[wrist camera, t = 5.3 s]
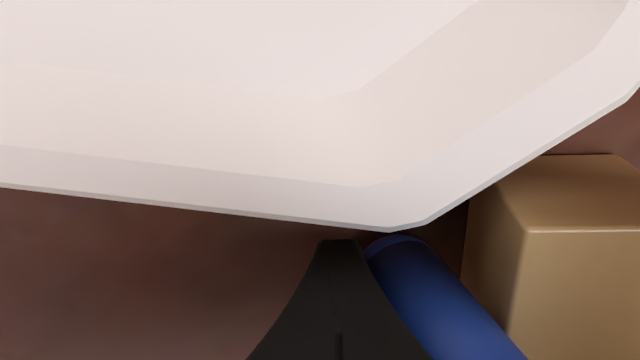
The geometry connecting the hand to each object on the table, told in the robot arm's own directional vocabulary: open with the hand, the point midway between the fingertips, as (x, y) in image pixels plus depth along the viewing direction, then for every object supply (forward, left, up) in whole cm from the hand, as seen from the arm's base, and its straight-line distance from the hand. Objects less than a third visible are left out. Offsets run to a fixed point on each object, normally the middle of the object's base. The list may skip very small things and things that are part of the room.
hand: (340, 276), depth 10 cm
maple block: (+4, 0, -1) cm, 4 cm away
